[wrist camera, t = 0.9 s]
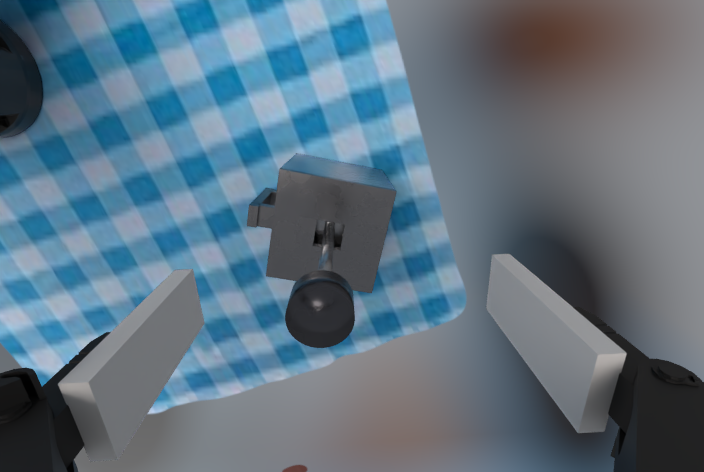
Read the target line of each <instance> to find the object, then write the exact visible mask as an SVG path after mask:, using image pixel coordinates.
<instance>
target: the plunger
mask: <svg viewBox="0 0 704 472" xmlns="http://www.w3.org/2000/svg"><path fill="white" fill-rule="evenodd" d="M344 226H345V225H344V224H339V223H333V222H328V221H322V220H317V224H316V230H315V236H314V241H313V243H315V244H321V245H322V246H321V252H320V259H319V266H318V270H317V271H312V272H309V273H307V274H305V275H303V276H302V277H300V278H299V279H298V280H297V282H296V283H295V285H294V286H293V289H292V292H291V295H290V299H289V303H288V306H287V310H286V315H285V321H286V326H287V328H288V330H289V332H290V333H291V335H292V336H293V337H294V338H295V339H296V340H298V341H299V342H301V343H302V344H304V345H307V346H310V347H315V348H325V347H331V346H334V345H336V344H338V343H340V342H342V341H343V340H344V339H345V338H347V336H348V335H349V334H350V332H351V331H352V329H353V326H354V321H355V315H354V299H353V292H352V289H351V286H350V285H349V283H348V282H347V281H346V280H345V279H344V278H343V277H342V276H340V275H339V274H337V273H335V272H332V268H333V251H334V247H338V248H340V246H341V241H342V236H343V231H344Z"/></svg>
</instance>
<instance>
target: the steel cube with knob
mask: <svg viewBox="0 0 704 472" xmlns="http://www.w3.org/2000/svg"><path fill="white" fill-rule="evenodd" d="M395 196H396V190H395V188H394V187H393V185H392V184H391V183H390V181H389V180H388V178H387V177H386V175H385V174H384V172H383V171H382V170H380V169H374V168H369V167H364V166H359V165H354V164H349V163H344V162H339V161H334V160H328V159H323V158H318V157H313V156H308V155H303V154H298V153H296V154H295V155H294V156H293V157H292V158H291V159H290V160H289V161H288V162H287V163H285V164H284V165H283V166H282V167H281V168H280V169H279V177H278V185H277V191H276V190H274V189H270V188H265V189H264V190H263V191H262V192H261V193H260V194H259V195H258V197H257V198H256V199H255V200H254V201H253V202H252V203H251V204H250V205H249V210H248V220H247V226H251V227H257V226H260V227H266V228H272V233H271V241H270V249H269V256H268V264H267V272H266V276H268V277H275V278H281V279H287V280H293V281H297V280H298V279H299V278H300V277H302V276H303V275H305V274H307V273H309V272H312V271H317V270H318V266H319V259H320V252H321V246H322V245H321V244H315V243H313V241H314V236H315V230H316V224H317V220H322V221H328V222H333V223H339V224H344V225H345V226H344V231H343V236H342V241H341V246H340V248H338V247H334V251H333V268H332V272H335V273H337V274H339V275H340V276H342V277H343V278H344V279H345V280H346V281H347V282H348V283H349V285H350V286H351V289H352V290H355V291H361V292H368V293H372V290H373V286H374V282H375V278H376V273H377V269H378V265H379V261H380V257H381V253H382V249H383V245H384V241H385V237H386V232H387V228H388V224H389V220H390V216H391V212H392V208H393V204H394V200H395Z"/></svg>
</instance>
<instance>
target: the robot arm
mask: <svg viewBox="0 0 704 472" xmlns="http://www.w3.org/2000/svg"><path fill="white" fill-rule="evenodd" d="M41 103H42V83H41V78H40V74H39V71H38V68H37V66H36V63H35V61H34V59H33V57H32V55H31V53H30V52H29V50H28V49H27V47H26V46H25V44H24V43H23V42H22V40H21V39H20V38H19V37H18V36H17V35H16V33H15V32H14V31H13V30H12V29H10V28H9V27H8V26H7V25H6V24H5V23H3V22H2V21H1V20H0V138H2V137H9V136H13V135H16V134H19V133H21V132H22V131H24V130H25V129H27V128H28V127H29V126H30V125H31V124H32V123H33V122H34V120H35V119H36V117H37V115H38V113H39V110H40V107H41ZM486 309H487V311H488V312H489V313H490V314H491V316H492V317H493V318H494V320H495V321H496V323H497V324H498V325H499V327H500V328H501V329H502V331H503V332H504V333H505V335H506V336H507V338H508V339H509V340H510V342H511V343H512V344H513V346H514V347H515V348H516V349H517V351H518V352H519V354H520V355H521V356H522V358H523V359H524V360H525V362H526V363H527V365H528V366H529V367H530V369H531V370H532V371H533V373H534V374H535V375H536V377H537V378H538V379H539V381H540V382H541V383H542V385H543V386H544V388H545V389H546V390H547V392H548V393H549V394H550V395H551V397H552V398H553V400H554V401H555V402H556V404H557V405H558V406H559V408H560V409H561V411H562V412H563V413H564V415H565V416H566V417H567V418H568V420H569V421H570V423H571V424H572V425H573V427H574V428H575V429H576V431H577V432H578V433H586V432H604V430H605V427H606V424H607V420H608V417H609V415H610V416H611V418H612V419H613V420H614V421H615V422H616V423H617V424H618V426H619V430H618V433H617V437H616V440H615V443H614V446H613V450H612V453H611V456H612V457H614V458H615V461H614V472H704V382H702V380H701V379H700V378H698V377H697V376H696V375H695V374H694V373H693V372H691V371H689V370H687V369H685V368H684V367H682V366H679V365H677V364H674V363H672V362H669V361H664V360H659V359H649V358H648V357H647V356H645V355H644V354H643V353H642V352H641V351H639V350H638V349H637V348H636V347H634V346H633V345H632V344H631V343H629V342H628V341H627V340H626V339H624V338H623V337H622V336H621V335H619V334H616V331H614V330H613V329H612V328H611V327H609V326H607V324H606V323H604V322H603V321H602V320H601V319H599V318H598V317H597V316H596V315H594V314H592V313H590V312H588V311H586V310H584V309H582V308H580V307H575V308H574V307H572V306H570V305H569V304H568V303H567V302H565V300H563V299H562V298H561V297H559V295H557V294H556V293H555V292H554V291H553V290H552V289H550V288H549V287H548V286H547V285H545V284H544V283H543V282H542V281H541V280H540V279H538V278H537V277H536V276H535V275H534V274H533V273H531V272H530V271H529V270H528V269H527V268H525V267H524V266H523V265H522V264H521V263H519V262H518V261H517V260H516V259H515V258H513V257H512V256H511V255H510V254H498V255H492V261H491V270H490V279H489V288H488V297H487V306H486ZM203 325H204V319H203V314H202V309H201V305H200V300H199V296H198V291H197V286H196V282H195V277H194V272H193V269H184V270H174V271H173V272H172V273H171V274H170V275H169V276H168V277H167V278H166V279H165V280H164V281H163V282H162V283H161V284H160V285H159V286H158V287H157V288H156V289H155V290H154V291H153V292H152V293H151V294H150V295H149V296H148V297H147V298H146V299H145V300H144V301H143V302H142V303H140V304H139V305H138V306H137V307H136V308H135V309H134V310H133V311H132V312H131V313H130V314H129V315H128V316H127V317H126V318H125V319H124V320H123V321H122V322H121V323H120V324H119V325H118V326H117V327H116V328H115V329H114V330H113V331H112V332H106V333H104V334H103V335H101V336H99V337H98V338H96V339H94V340H93V341H91V342H90V343H89V344H88V345H87V346H85V347H84V348H83V349H82V350H81V351H80V352H79V355H76V356H75V357H74V358H73V359H72V360H70V361H69V364H66V365H65V366H64V367H63V368H62V369H61V370H60V371H59V372H58V373H56V374H55V375H54V376H53V377H52V378H51V379H50V380H49V381H48V382H47V383H46V384H45V385H44V386H43V387H42V386H41V384H40V382H39V380H38V377H37V375H36V373H35V371H34V370H33V369H29V368H20V369H13V370H10V371H7V372H4V373H0V472H78V469H77V466H76V464H75V462H74V458H75V457H76V455H77V454H78V453H79V452H80V450H81V449H82V448H83V447H84V448H85V450H86V453H87V455H88V458H89V460H90V461H91V462H92V461H109V460H118V459H119V457H120V456H121V454H122V453H123V451H124V449H125V448H126V446H127V445H128V443H129V442H130V440H131V438H132V437H133V435H134V434H135V432H136V430H137V429H138V427H139V426H140V424H141V423H142V421H143V419H144V418H145V416H146V415H147V413H148V412H149V410H150V408H151V407H152V405H153V404H154V402H155V400H156V399H157V397H158V396H159V394H160V393H161V391H162V389H163V388H164V386H165V385H166V383H167V382H168V380H169V378H170V377H171V375H172V374H173V372H174V370H175V369H176V367H177V366H178V364H179V363H180V361H181V359H182V358H183V356H184V355H185V353H186V352H187V350H188V348H189V347H190V345H191V344H192V342H193V340H194V339H195V337H196V336H197V334H198V333H199V331H200V329H201V328H202V326H203Z"/></svg>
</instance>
